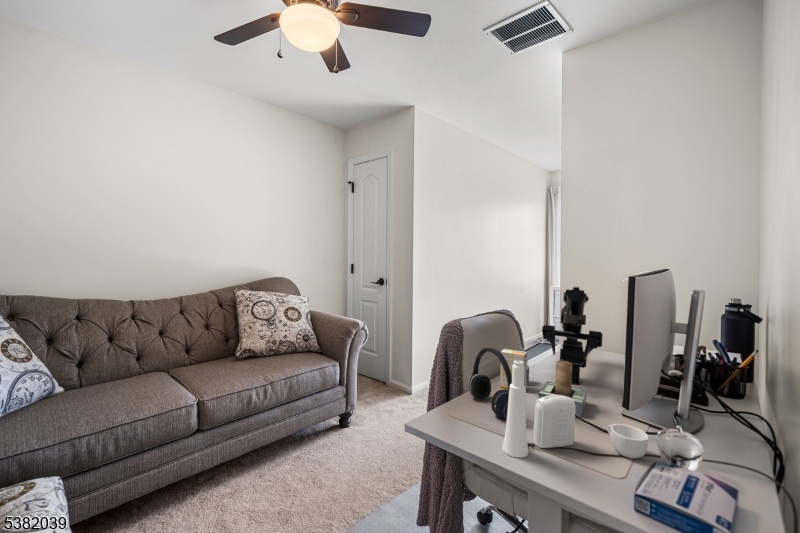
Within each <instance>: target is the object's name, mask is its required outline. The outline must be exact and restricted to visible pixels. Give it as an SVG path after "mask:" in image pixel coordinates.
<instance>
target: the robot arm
mask: <svg viewBox="0 0 800 533" xmlns="http://www.w3.org/2000/svg"><path fill="white" fill-rule="evenodd" d="M589 299H590V298H589V297H588V295H587V293H585V290H584V289H583V290H582V289H580V287H578V286H573V288H572V289H565V291H563V298H562V300H563V302H564V306H563V307H562V308H561V310H560V324H561V326H562V327H561V328H562V330H560V329H559V330H558V329H556V325H550V324H543V326H541V327H542V328H541V333H542V334H541V335H542V338H543V339H544V340H546V341H547V342H548V343H550V345H551V350H552V351H551V352H552V355H553V356H555V355H556V337H563V338H564V337H565V339H563V343H562V347H561V348H559V361H567V362H571V363H572V383H571V385H572V384H573V385H576V386H577V385H578V386H580V384H581V383H582V378H580V376H581V375H580V374H581V368H582V369H585V368H586V367H587V362H588V356H589V355H590V353H591V352H592V351H593V350H595V349H598V348H602V347H603V333H602V332H601V331H596V330H588V334H587V333H582V328H583V326H586V324H587V315H586V314H584V312H585V311H584V310H585V304H586V303H588V302H589ZM579 340H584V341H586V343H585V347H584V346H583V342H582V341H579ZM584 348H585V349H584Z"/></svg>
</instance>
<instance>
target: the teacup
mask: <svg viewBox="0 0 800 533" xmlns="http://www.w3.org/2000/svg"><path fill="white" fill-rule="evenodd" d="M606 430H607V432H608V435H609V436H610V441H611V442H610V443H611V445H612V447H613V448H614V450H615V451H616V452H617V453H618V454H619V455H621V456H623V457H625V458H629V459H632V460H633V459H640V458H642V457H644V456H645V454H646V453H647V450H648V446H649V439H650V438H649V435H648V433H646V432H645V431H643V430H642V429H640V428H638V427H635V426H633V425H628V424H624V423H613V424H609V425H608V426H607V428H606Z"/></svg>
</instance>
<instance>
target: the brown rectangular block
mask: <svg viewBox="0 0 800 533" xmlns="http://www.w3.org/2000/svg"><path fill="white" fill-rule="evenodd" d="M555 363H556V364H555V382H554V383H555V394H556V395H563V396H567V397H570V398H571V387H572V363H571V362H567V361H560V360H556V362H555Z"/></svg>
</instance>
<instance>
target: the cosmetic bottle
mask: <svg viewBox="0 0 800 533" xmlns="http://www.w3.org/2000/svg"><path fill="white" fill-rule="evenodd" d="M523 364H524V362H522V361H518V360H516V361H514V365H513V366H512V384H510V390H509V400H508V412H507V418H506V426H505V433H504V439H503V442H502V446H501V448H502V451H503V453H504V454H506V455H508V456H510V457H513V458H517V459H522V458H525V457H528V455H529V449H528V448H529V447H528V439H527V438H528V437H527V436H528V435H527V434H528V433H527V396H526V395H527V392H526V390H527V386H526V387H525V386H524V369H525V368H524V366H523Z"/></svg>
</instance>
